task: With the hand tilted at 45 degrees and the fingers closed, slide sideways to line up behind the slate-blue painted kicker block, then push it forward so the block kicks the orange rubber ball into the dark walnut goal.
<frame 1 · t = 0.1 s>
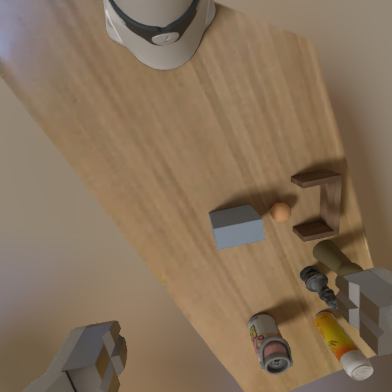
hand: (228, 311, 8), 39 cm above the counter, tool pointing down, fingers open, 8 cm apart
beer can: (321, 316, 64), on the counter
goal: (306, 202, 50), on the counter
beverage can: (260, 320, 62), on the counter
kicker: (230, 217, 50), on the counter
grey chess bishop: (308, 273, 58), on the counter
ball: (276, 208, 50), on the counter
olive pawn: (323, 249, 55), on the counter
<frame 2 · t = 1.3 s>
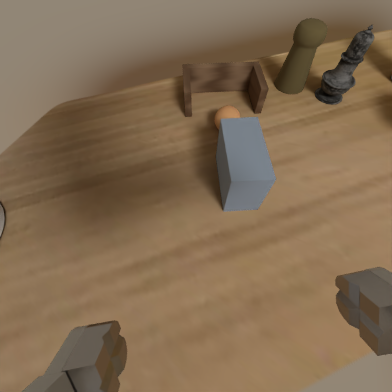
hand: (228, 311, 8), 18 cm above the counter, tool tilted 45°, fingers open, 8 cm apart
goal: (221, 102, 41), on the counter
kicker: (235, 181, 32), on the counter
grey chess bishop: (327, 96, 42), on the counter
ball: (225, 129, 38), on the counter
olive pawn: (288, 85, 44), on the counter
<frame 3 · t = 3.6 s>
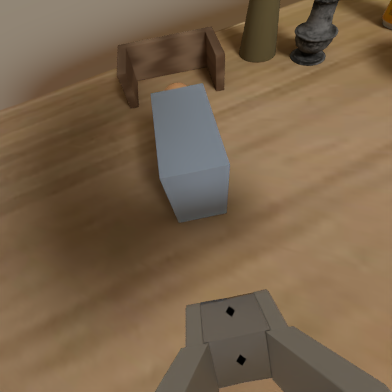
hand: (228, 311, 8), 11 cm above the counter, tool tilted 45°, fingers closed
goal: (174, 85, 33), on the counter
kicker: (194, 179, 24), on the counter
grey chess bishop: (306, 57, 34), on the counter
ball: (181, 115, 29), on the counter
olive pawn: (256, 53, 36), on the counter
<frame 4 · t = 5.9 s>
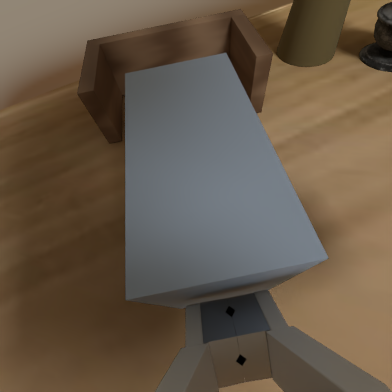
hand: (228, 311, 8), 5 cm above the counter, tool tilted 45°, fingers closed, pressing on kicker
goal: (180, 104, 21), on the counter
kicker: (206, 221, 14), on the counter, touching gripper
grey chess bishop: (386, 59, 22), on the counter
olive pawn: (304, 53, 24), on the counter
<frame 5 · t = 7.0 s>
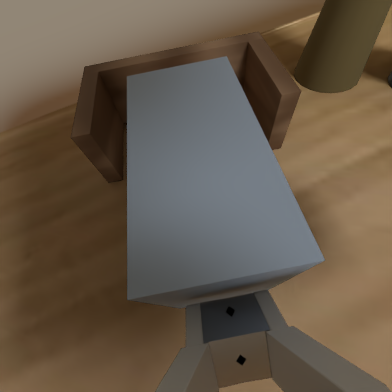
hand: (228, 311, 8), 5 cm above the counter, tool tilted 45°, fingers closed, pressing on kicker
goal: (188, 135, 19), on the counter
kicker: (206, 221, 15), on the counter, touching gripper
olive pawn: (324, 76, 21), on the counter
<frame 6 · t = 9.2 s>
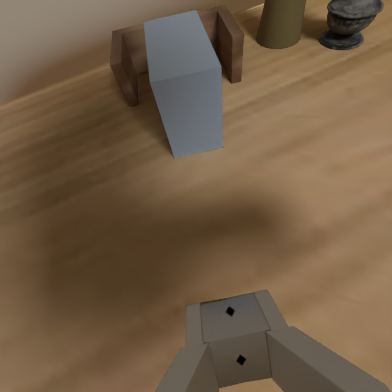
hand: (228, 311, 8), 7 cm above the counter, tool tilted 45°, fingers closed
goal: (180, 78, 28), on the counter
kicker: (190, 121, 24), on the counter
grey chess bishop: (339, 41, 28), on the counter
olive pawn: (277, 39, 30), on the counter
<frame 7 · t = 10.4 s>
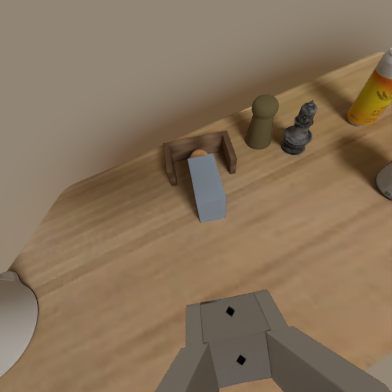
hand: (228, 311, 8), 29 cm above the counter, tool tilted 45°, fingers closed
beer can: (358, 120, 50), on the counter
goal: (200, 167, 48), on the counter
kicker: (208, 198, 44), on the counter
grey chess bishop: (292, 146, 48), on the counter
ball: (198, 150, 45), point 4 cm above the counter, tilted 156°
olive pawn: (257, 140, 51), on the counter
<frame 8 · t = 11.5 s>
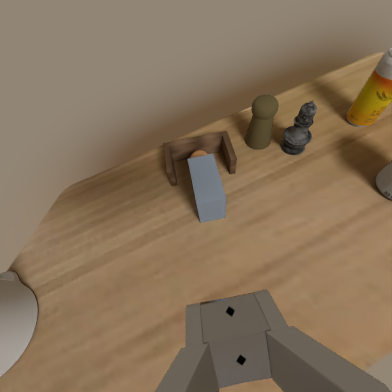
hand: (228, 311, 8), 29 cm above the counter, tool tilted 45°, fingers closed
beer can: (358, 120, 51), on the counter
goal: (200, 167, 48), on the counter
kicker: (207, 198, 44), on the counter
grey chess bishop: (292, 147, 49), on the counter
ball: (198, 151, 45), point 4 cm above the counter, tilted 162°
olive pawn: (257, 140, 51), on the counter
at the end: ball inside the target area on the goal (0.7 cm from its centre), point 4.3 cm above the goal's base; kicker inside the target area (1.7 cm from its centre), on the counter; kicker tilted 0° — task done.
